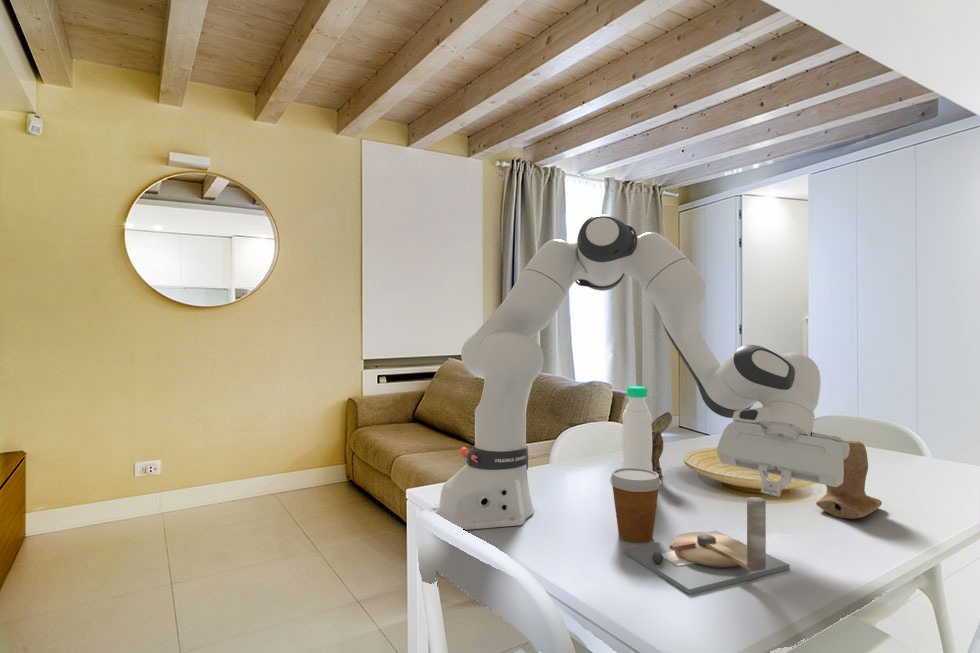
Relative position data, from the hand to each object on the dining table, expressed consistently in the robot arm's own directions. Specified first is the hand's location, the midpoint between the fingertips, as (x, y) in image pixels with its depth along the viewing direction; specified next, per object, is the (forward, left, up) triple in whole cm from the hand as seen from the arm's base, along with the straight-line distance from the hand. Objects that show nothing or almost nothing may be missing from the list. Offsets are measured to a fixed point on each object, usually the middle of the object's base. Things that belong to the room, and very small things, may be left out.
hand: (770, 493), depth 96 cm
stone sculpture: (+12, +48, -11) cm, 51 cm away
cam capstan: (-11, +1, -10) cm, 15 cm away
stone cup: (+34, +11, -11) cm, 38 cm away
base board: (-12, +3, -11) cm, 16 cm away
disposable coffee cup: (-16, +17, -11) cm, 26 cm away
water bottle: (+2, +40, -11) cm, 42 cm away
